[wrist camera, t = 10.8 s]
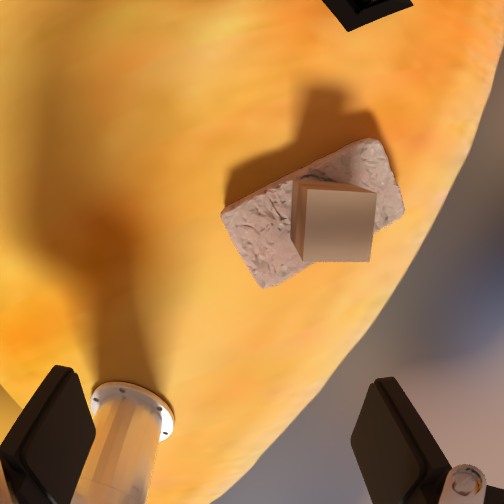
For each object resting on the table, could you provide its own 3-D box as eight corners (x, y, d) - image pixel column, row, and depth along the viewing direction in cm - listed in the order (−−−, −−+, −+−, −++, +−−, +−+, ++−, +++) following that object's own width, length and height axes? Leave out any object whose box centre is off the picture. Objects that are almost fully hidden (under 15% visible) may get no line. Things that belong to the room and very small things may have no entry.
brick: (364, 134, 29) (383, 132, 25) (393, 205, 32) (414, 215, 27) (218, 206, 31) (215, 217, 27) (258, 275, 34) (260, 295, 29)
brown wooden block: (344, 238, 28) (369, 261, 22) (290, 237, 28) (302, 261, 22) (349, 183, 26) (377, 193, 21) (292, 180, 26) (307, 189, 20)
